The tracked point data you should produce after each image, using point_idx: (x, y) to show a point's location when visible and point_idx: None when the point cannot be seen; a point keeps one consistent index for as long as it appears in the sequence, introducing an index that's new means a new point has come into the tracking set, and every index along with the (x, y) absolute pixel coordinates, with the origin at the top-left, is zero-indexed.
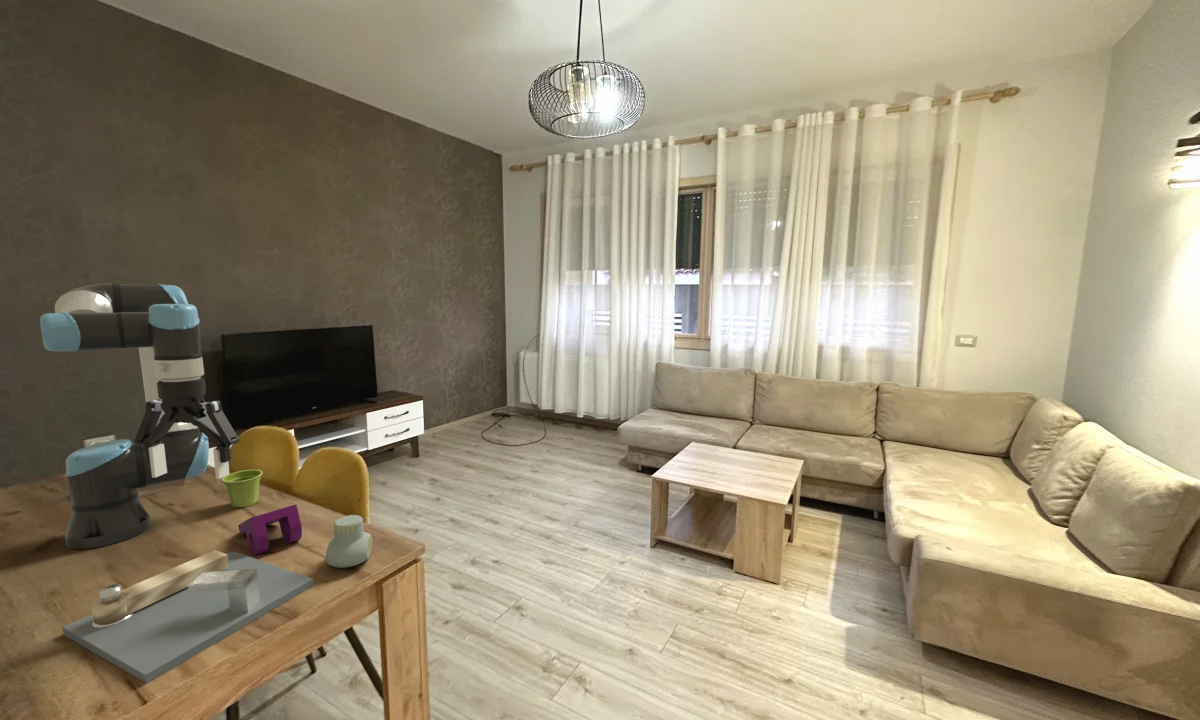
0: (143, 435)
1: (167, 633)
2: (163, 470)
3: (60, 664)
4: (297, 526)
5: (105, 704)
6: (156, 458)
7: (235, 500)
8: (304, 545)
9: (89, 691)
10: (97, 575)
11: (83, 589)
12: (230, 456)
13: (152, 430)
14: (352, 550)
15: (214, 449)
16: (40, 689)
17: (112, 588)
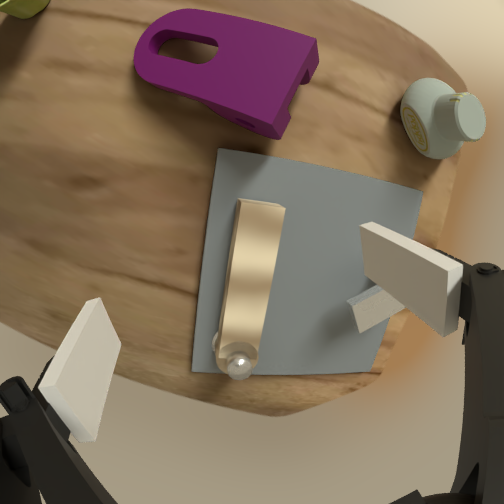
0: (36, 491)
1: (336, 335)
2: (101, 319)
3: (253, 386)
4: (315, 69)
5: (352, 387)
6: (99, 383)
7: (26, 12)
8: (316, 80)
9: (324, 388)
10: (52, 269)
11: (81, 300)
12: (445, 254)
13: (1, 471)
14: (461, 145)
15: (448, 334)
16: (276, 403)
17: (242, 369)
